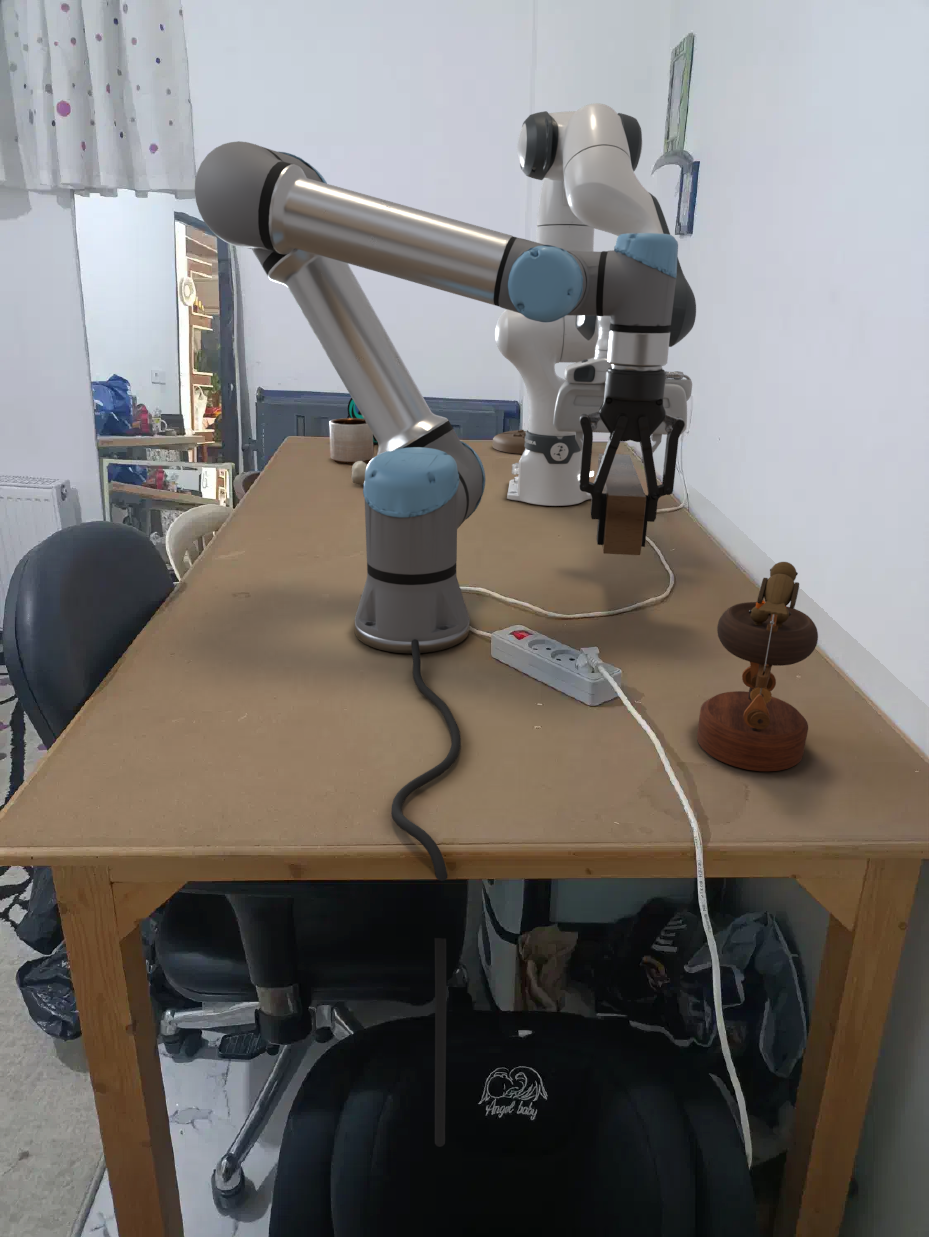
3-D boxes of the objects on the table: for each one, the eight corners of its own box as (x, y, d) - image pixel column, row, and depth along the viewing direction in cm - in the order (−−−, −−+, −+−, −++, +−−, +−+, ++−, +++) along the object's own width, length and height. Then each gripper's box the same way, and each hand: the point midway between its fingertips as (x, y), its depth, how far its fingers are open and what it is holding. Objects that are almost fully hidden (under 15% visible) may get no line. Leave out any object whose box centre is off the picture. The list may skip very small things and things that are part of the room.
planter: (327, 456, 217) (325, 418, 214) (369, 454, 220) (368, 417, 217) (334, 465, 208) (332, 425, 204) (377, 463, 211) (376, 424, 207)
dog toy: (438, 479, 195) (438, 457, 193) (442, 485, 190) (442, 463, 188) (350, 481, 192) (349, 459, 190) (351, 487, 187) (351, 464, 185)
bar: (640, 555, 113) (646, 496, 110) (603, 553, 113) (608, 495, 110) (625, 503, 138) (629, 454, 135) (594, 501, 139) (598, 453, 136)
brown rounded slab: (498, 463, 213) (499, 446, 211) (490, 442, 239) (491, 427, 237) (581, 463, 214) (582, 447, 212) (564, 443, 240) (565, 428, 238)
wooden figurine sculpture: (826, 784, 80) (847, 586, 73) (707, 784, 81) (715, 589, 74) (787, 708, 94) (802, 535, 87) (686, 708, 95) (692, 539, 88)
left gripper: (703, 366, 110) (683, 538, 119) (565, 362, 111) (554, 532, 120) (713, 372, 103) (690, 554, 112) (565, 368, 104) (554, 548, 113)
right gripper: (690, 369, 129) (680, 460, 134) (556, 366, 131) (551, 455, 136) (696, 373, 123) (686, 468, 128) (556, 370, 125) (551, 463, 130)
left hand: (620, 542), depth 116 cm, fingers closed on bar, 5 cm apart
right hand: (615, 461), depth 132 cm, fingers open, 8 cm apart
